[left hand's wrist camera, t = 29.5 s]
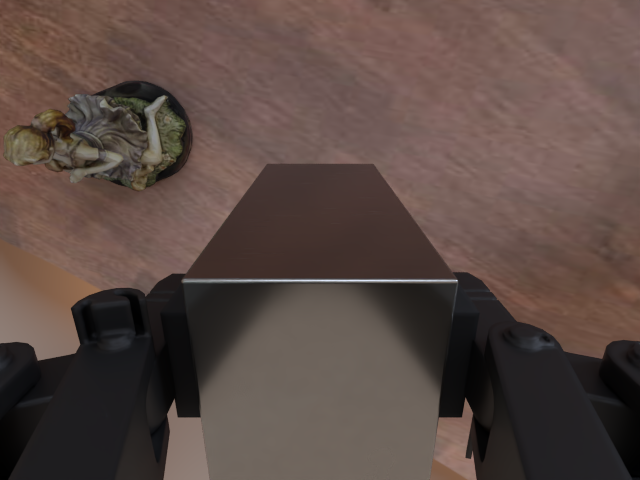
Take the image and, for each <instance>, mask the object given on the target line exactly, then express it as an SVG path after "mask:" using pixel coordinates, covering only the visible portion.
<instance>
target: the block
mask: <svg viewBox="0 0 640 480" xmlns="http://www.w3.org/2000/svg"><path fill="white" fill-rule="evenodd" d="M181 283H182V290H183V297H184V304H185V311H186V318H187V325H188V332H189V339H190V346H191V353H192V360H193V367H194V374H195V381H196V388H197V395H198V401H199V408H200V415H201V422H202V429H203V436H204V443H205V450H206V457H207V464H208V471H209V478H210V480H430V474H431V467H432V460H433V453H434V447H435V440H436V433H437V426H438V419H439V412H440V405H441V398H442V391H443V384H444V377H445V370H446V363H447V356H448V350H449V343H450V336H451V329H452V322H453V315H454V308H455V301H456V294H457V287H458V279H457V278H456V277H455V275H454V274H453V272H452V271H451V270H450V268H449V267H448V266H447V264H446V263H445V262H444V260H443V259H442V257H441V256H440V255H439V253H438V252H437V251H436V249H435V248H434V246H433V245H432V244H431V242H430V241H429V240H428V238H427V237H426V235H425V234H424V233H423V231H422V230H421V229H420V227H419V226H418V225H417V223H416V222H415V220H414V219H413V218H412V216H411V215H410V214H409V212H408V211H407V209H406V208H405V207H404V205H403V204H402V203H401V201H400V200H399V198H398V197H397V196H396V194H395V193H394V192H393V190H392V189H391V188H390V186H389V185H388V183H387V182H386V181H385V179H384V178H383V177H382V175H381V174H380V172H379V171H378V170H377V168H376V167H375V166H374V164H267V165H266V166H265V167H264V169H263V170H262V171H261V173H260V174H259V176H258V177H257V178H256V180H255V181H254V182H253V184H252V185H251V186H250V188H249V189H248V190H247V192H246V193H245V194H244V196H243V197H242V199H241V200H240V201H239V203H238V204H237V205H236V207H235V208H234V209H233V211H232V212H231V213H230V215H229V216H228V218H227V219H226V220H225V222H224V223H223V224H222V226H221V227H220V228H219V230H218V231H217V232H216V234H215V235H214V236H213V238H212V239H211V241H210V242H209V243H208V245H207V246H206V247H205V249H204V250H203V251H202V253H201V254H200V255H199V257H198V258H197V259H196V261H195V262H194V264H193V265H192V266H191V268H190V269H189V270H188V272H187V273H186V274H185V276H184V277H183V278H182V281H181Z"/></svg>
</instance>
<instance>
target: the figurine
mask: <svg viewBox="0 0 640 480" xmlns="http://www.w3.org/2000/svg"><path fill="white" fill-rule="evenodd" d="M68 100H69V101H71V103H70V104H69V105H68V106H67V107H69V108H70V110H69V111H68V112H67V113H66V114H63V113H62V112H61V111H58V110H53V109H49V110H47V111H45V112H44V113H40V114H38V115H36V116H35V117H34V118H33V120H32V122H31V125H30V126H20V125H17V126H16V127H14V128H12V129H10V130H9V131H8V132H7V133H6V134H5V136H4V154H3V156H4V158H5V159H7V160H9V161H10V162H12V163H13V164H15V165H18V166H25V165H29V164H44V163H45V166H46V167H47V168H48V169H49V170H52V171H55V172H62V171H63V170H64V171H66V172H68V173H70V174H71V176H70V181H71V183H77V182H80V181H81V180H82V178H83V177H88V178H90V177H94V178H98V179H101V178H103V179H105V180H109V181H111V182H113V183H115V184H118V185H122V186H126V187H129V188H131V189H134V190H136V191H141V190H144V189H146V187H149V186H151V185H153V184H154V183H155V182H157V181H159V180H162V179H164V178H167V177H169V176H171V175H173V174H175V173H176V172H178V171H179V170H180V169H181V168H182V167H183V165H184V164H185V162H186V161H187V158H188V155H189V153H190V150H191V145H192V130H191V125H190V120H189V118H188V116H187V114H186V112H185V110H184V109H183V108H182V106H181V105H180V104H179V103H178V101H177V100H176V99H175V98H174V97H173V96H172V95H171V94H170V93H169V92H167V91H166V90H164V89H162V88H161V87H158V86H156V85H154V84H151V83H148V82H143V81H126V82H123V83H120V84H118V85H116V86H113V87H111V88H108V89H106V90H103V91H101V92H98V93H96V94H94V95H92V96H90V95H88V94H77V95H75V96H74V97H70V98H69V99H68Z"/></svg>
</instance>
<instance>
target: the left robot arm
mask: <svg viewBox="0 0 640 480" xmlns="http://www.w3.org/2000/svg"><path fill="white" fill-rule="evenodd" d="M453 274H454V275H455V277H456V278H457V279H458V287H457V294H456V301H455V308H454V315H453V322H452V329H451V336H450V343H449V350H448V356H447V363H446V370H445V377H444V384H443V391H442V398H441V405H440V412H439V417H462V414H463V408H464V402H465V397H466V399H467V401H468V403H469V405H470V407H471V409H472V412H473V417H472V423H471V428H470V434H469V439H468V445H467V450H466V457H465V458H469V459H471V455H472V451H473V455H474V463H475V470H476V478H477V480H640V342H639V341H627V340H621V341H613V342H611V343H610V344H609V345H607V347H606V350H605V353H604V356H603V359H599V358H594V357H589V356H583V355H578V354H573V353H568V352H564V351H563V349H562V347H561V346H560V344H559V343H558V342H557V340H556V339H555V338H554V337H553V336H552V335H550V334H549V333H547V332H546V331H544V330H542V329H540V328H537V327H535V326H532V325H530V324H526V323H521V322H517V321H516V320H515V319H514V318H513V317H512V315H511V314H510V313H509V312H508V311H507V310H506V308H505V307H504V306H503V305H502V304H501V303H500V301H499V300H497V298H496V297H495V296H494V294H493V293H492V292H490V290H489V289H488V287H487V286H486V285H485V284H484V283H483V282H482V281H481V280H480V279H478V278H476V277H474V276H473V275H471V274H469V273H468V272H453ZM184 276H185V274H171V275H170V276H168V277H166V278H164V279H163V280H161V281H159V282H158V283H157V284H156V285H155V287H154V288H153V289H152V290H151V291H150V293H149V294H148V295H147V296H146V297H145V294H144V293H143V292H141V291H140V290H138V289H133V288H115V289H109V290H104V291H100V292H97V293H94V294H92V295H89V296H87V297H85V298H83V299H81V300H80V301H78V302H77V303H76V304H75V305H74V306H73V307H72V308H71V311H72V315H73V318H74V322H75V326H76V330H77V333H78V337H79V341H80V346H79V348H78V350H77V352H76V353H75V354H71V355H66V356H61V357H56V358H51V359H45V360H40V361H38V360H37V357H36V354H35V351H34V348H33V347H32V346H30V345H29V344H27V343H20V342H12V343H1V344H0V480H163V478H164V471H165V464H166V456H167V449H168V441H169V434H170V430H169V423H168V418H167V413H168V411H169V409H170V407H171V405H172V403H173V400H174V398H175V403H176V409H177V415H178V417H201V415H200V408H199V401H198V395H197V388H196V381H195V374H194V367H193V360H192V353H191V346H190V339H189V332H188V325H187V318H186V311H185V304H184V297H183V290H182V283H181V281H182V278H183V277H184Z"/></svg>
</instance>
